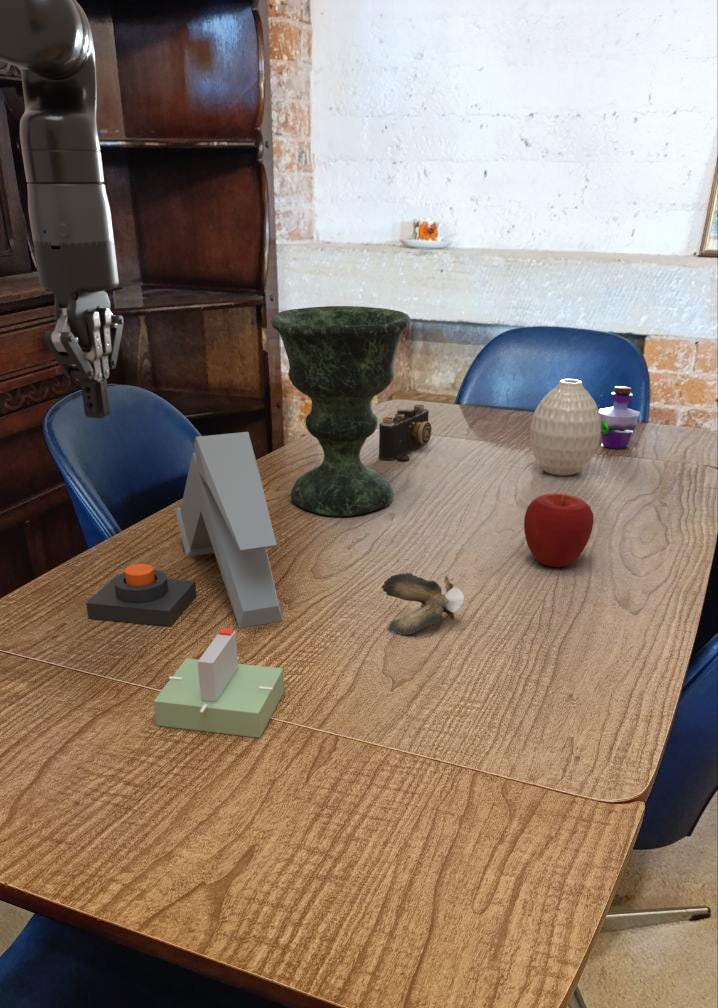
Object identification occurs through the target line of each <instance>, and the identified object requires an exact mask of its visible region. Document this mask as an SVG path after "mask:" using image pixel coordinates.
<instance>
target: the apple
mask: <svg viewBox="0 0 718 1008" xmlns="http://www.w3.org/2000/svg"><path fill="white" fill-rule="evenodd" d="M594 519H595V518H594V513H593V509H592V507H591V506H590V505H589V504H588V503H587V502H586V500H584V499H582V498H580V497H577V496H575V495H570V494H565V493H546V494H542V495H541V494H540V495H538V496H537V497H536V498H534V499H533V500H531V502H530V503H529V504H528V506H527V507H526V511H525V514H524V520H523V530H524V537H525V540H526V544H527V547H528V549H529V551H530V553H531V554H532V555H533V557H534V558H535V559H536V560H537V561H539V563H541V564H542V565H544V566H547V567H551V568H552V567H553V568H563V567H567V566H569V565H571V564H572V563H574V562H575V561H576V560H577V559H578V558H580V556H581V554H582V553H583V551H584V550H585V548H586V547H587V544H588V543H589V541H590V538H591V534H592V532H593V527H594V521H595V520H594Z"/></svg>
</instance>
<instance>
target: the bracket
mask: <svg viewBox="0 0 718 1008" xmlns="http://www.w3.org/2000/svg"><path fill="white" fill-rule="evenodd" d="M193 448H194V452H192V454H191V460H190V464H189V468H188V473H187V476H186V477H187V478H186V482H185V487H184V492H183V496H182V501H181V505H180V507H175V508H174V513H175V516H176V520H177V524H178V528H179V529H178V530H179V533H180V536H181V540H182V545H183V549H184V552H185V553H184V554H185V557H193V556H201V555H208V554H214V556H215V559H216V562H217V564H218V569H219V571H220V574H221V577H222V581H223V583H224V586H225V589H226V592H227V595H228V599H229V601H230V605H231V607H232V608H231V609H232V611H233V614H234V617H235V620H236V623H237V625H238V629H242V628H243V629H245V628H249V627H254V626H261V625H267V624H272V623H273V624H274V623H278V622H283V617H282V612H281V611H282V610H281V608H280V603H279V598H278V594H277V589H276V585H275V580H274V576H273V572H272V568H271V563H270V558H269V554H268V550H267V549H269V548H276V547H277V546H278V543H277V540H276V536H275V532H274V528H273V524H272V520H271V516H270V512H269V508H268V504H267V500H266V499H267V498H266V495H265V491H264V486H263V482H262V478H261V474H260V470H259V466H258V462H257V458H256V455H255V452H254V448H253V444H252V440H251V437H250V432H249V431H242V432H233V433H232V432H231V433H221V434H210V435H201V436H200V435H199V436H195V439H194V444H193Z"/></svg>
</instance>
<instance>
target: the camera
mask: <svg viewBox="0 0 718 1008" xmlns="http://www.w3.org/2000/svg"><path fill="white" fill-rule="evenodd" d="M429 413H430V410H429V409H428V408H425V405H424V404H414V405H413V408H412V409H397V411H396V413H395V414H394V417H389V416H388V417H387V416H386V417H383V418H382V422H380V423H379V424H378V425H379V426H378V427H379V428H378V429H379V431H378V432H379V434H378V435H379V436H378V437H379V438H378V459H379V460H381V461H385V462H386V461H388V462H390V461H394V460H396V459H397V461H399V462H408V461H409V460H410V454H412V451H414V450H417V449H419V448H421V447H423V446H425V445H427V444H428V443H429V441H430V439H431V436H432V430H433V429H432V424H431V422H429V416H430V415H429Z"/></svg>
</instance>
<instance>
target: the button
mask: <svg viewBox="0 0 718 1008" xmlns="http://www.w3.org/2000/svg"><path fill="white" fill-rule="evenodd" d="M154 570H155V568H154V567H153V565H151V564H147V563H136V564H132V565H129V566H127V567H126V568H125V569H124V573H125V577H126V584H127V585H129V586H144V585H148V584H151V583H154V582H155V575H154Z"/></svg>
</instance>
